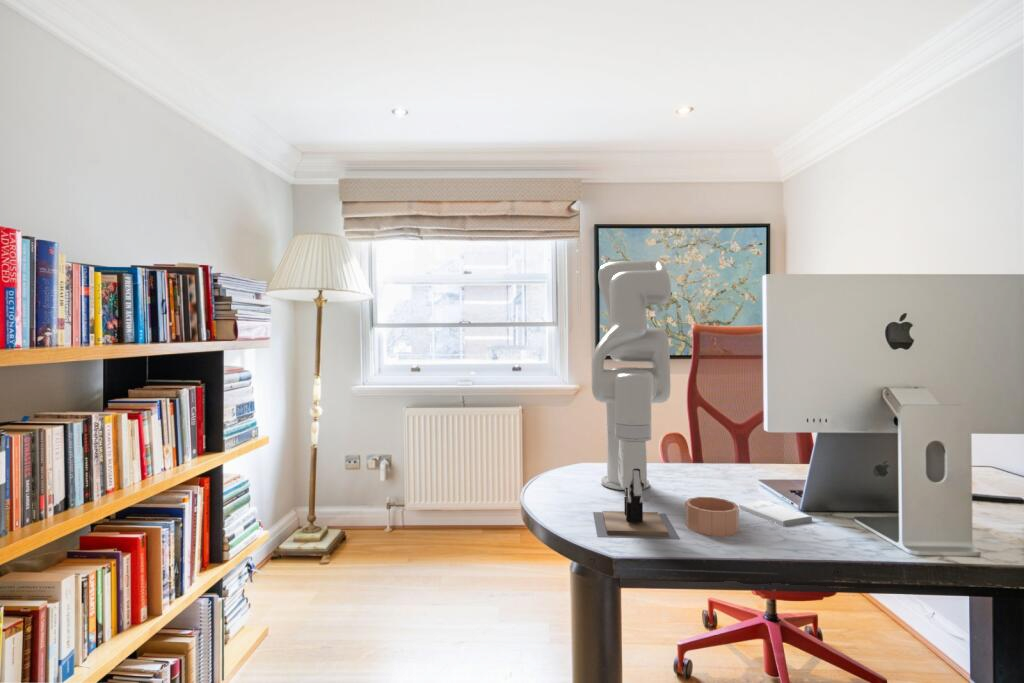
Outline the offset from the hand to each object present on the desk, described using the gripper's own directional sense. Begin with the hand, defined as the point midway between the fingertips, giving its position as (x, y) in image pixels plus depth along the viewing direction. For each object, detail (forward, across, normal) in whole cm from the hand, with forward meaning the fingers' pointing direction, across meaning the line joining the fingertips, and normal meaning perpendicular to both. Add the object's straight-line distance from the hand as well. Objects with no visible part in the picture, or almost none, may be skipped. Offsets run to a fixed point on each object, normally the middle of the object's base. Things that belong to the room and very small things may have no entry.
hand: (633, 517), depth 111 cm
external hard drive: (+2, -10, +32) cm, 34 cm away
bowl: (+2, 0, +16) cm, 16 cm away
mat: (+2, 0, 0) cm, 2 cm away
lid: (+1, 0, 0) cm, 1 cm away
